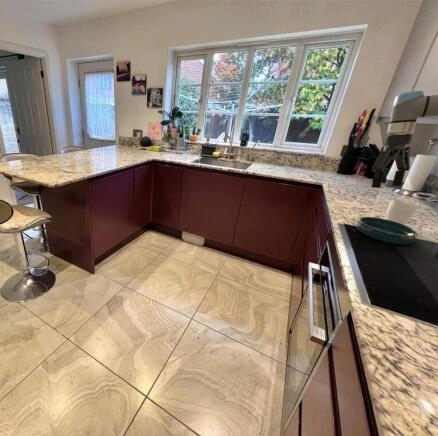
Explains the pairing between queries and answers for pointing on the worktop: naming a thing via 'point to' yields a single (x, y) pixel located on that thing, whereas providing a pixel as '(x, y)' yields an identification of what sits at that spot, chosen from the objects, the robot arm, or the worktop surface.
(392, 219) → the cup
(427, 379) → the worktop surface
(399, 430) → the worktop surface
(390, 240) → the bowl
